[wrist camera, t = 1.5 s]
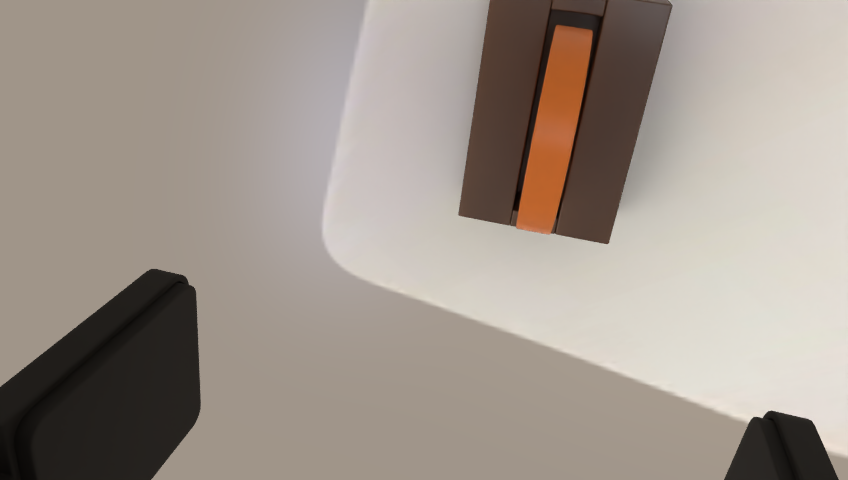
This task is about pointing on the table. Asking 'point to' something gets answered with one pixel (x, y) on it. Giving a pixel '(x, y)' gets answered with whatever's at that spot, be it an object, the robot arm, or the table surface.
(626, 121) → the holder
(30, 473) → the robot arm
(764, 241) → the table surface
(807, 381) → the table surface
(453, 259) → the table surface
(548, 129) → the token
